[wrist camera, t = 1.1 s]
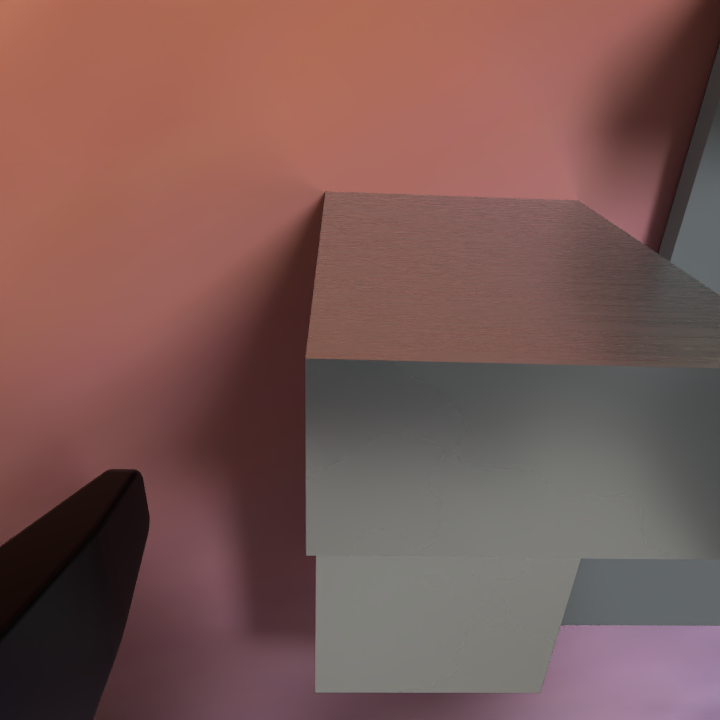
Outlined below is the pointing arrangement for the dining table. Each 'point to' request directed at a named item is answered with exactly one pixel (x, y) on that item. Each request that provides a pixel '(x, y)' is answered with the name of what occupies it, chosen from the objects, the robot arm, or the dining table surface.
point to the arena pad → (716, 271)
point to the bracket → (493, 431)
